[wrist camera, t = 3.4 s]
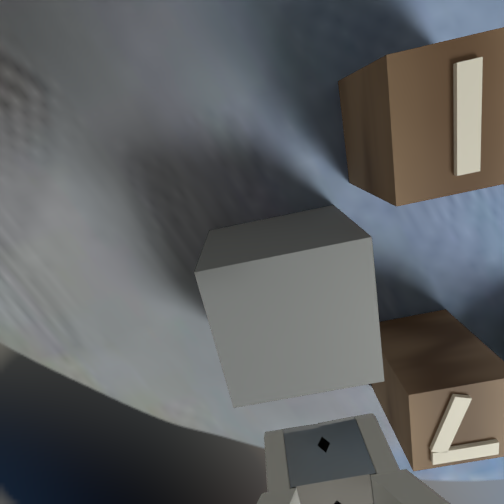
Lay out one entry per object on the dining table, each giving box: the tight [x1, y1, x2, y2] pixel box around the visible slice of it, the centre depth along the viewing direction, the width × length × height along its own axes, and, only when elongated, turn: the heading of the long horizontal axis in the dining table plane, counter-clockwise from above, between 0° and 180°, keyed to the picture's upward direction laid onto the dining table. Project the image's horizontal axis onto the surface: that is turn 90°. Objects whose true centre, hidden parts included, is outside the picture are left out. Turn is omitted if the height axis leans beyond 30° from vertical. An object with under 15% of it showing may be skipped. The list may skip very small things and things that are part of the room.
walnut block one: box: [338, 27, 504, 206], centre depth 14 cm, size 5×5×6 cm
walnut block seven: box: [372, 309, 504, 471], centre depth 19 cm, size 5×5×6 cm
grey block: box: [194, 205, 384, 408], centre depth 17 cm, size 7×7×6 cm
